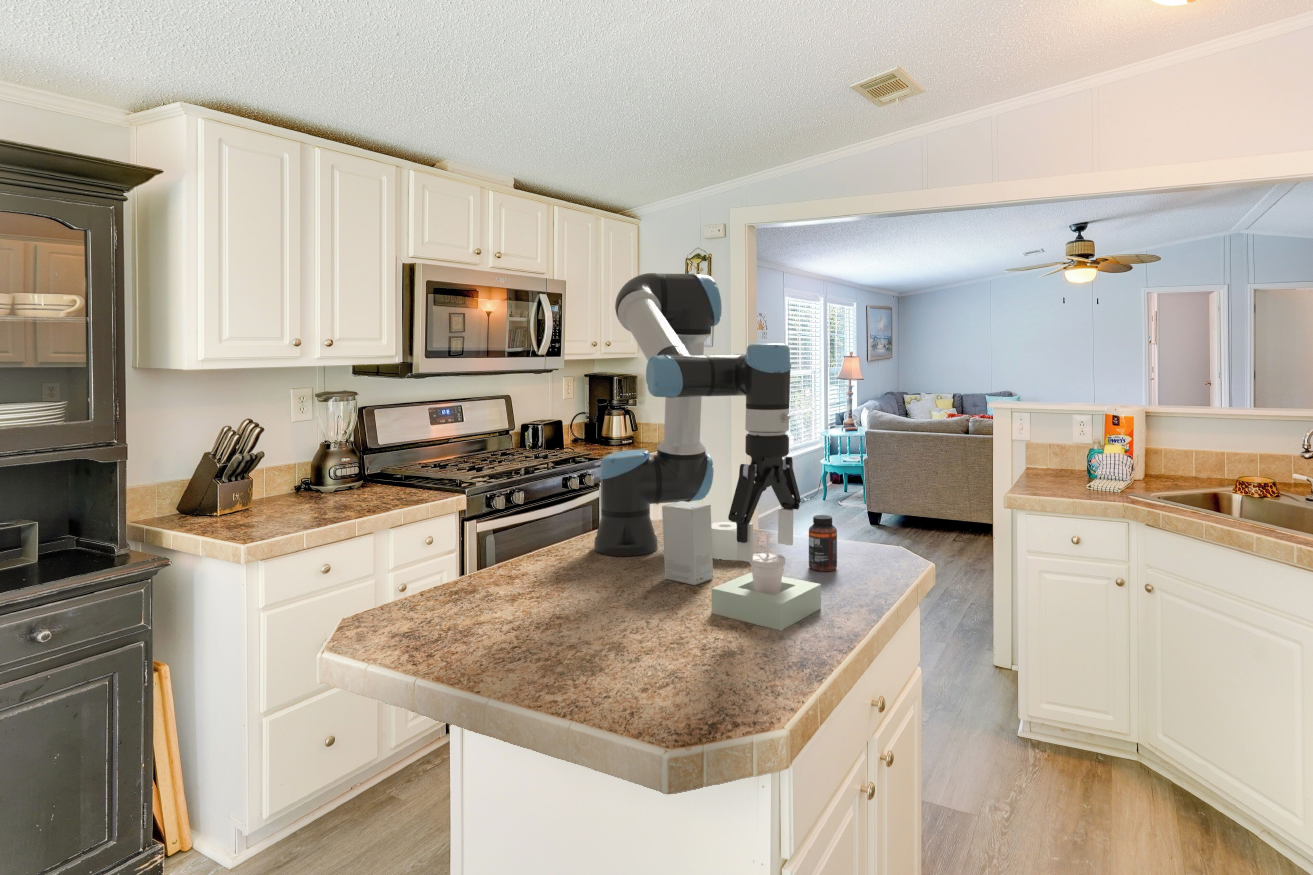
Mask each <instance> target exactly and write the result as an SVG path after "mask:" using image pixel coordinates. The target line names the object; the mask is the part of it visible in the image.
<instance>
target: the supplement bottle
mask: <svg viewBox="0 0 1313 875" xmlns="http://www.w3.org/2000/svg"><path fill="white" fill-rule="evenodd" d="M812 519H813V520H812V522H813V524H812V525H811V526H809V528H808V567H809V569H811V570H812V571H817V572H832V571H834V570H836V569H837V567H838V530H837V527H835V525H834V524H833V516H831V515H828V514H816V515H813V518H812Z"/></svg>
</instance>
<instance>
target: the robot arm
mask: <svg viewBox="0 0 1313 875" xmlns="http://www.w3.org/2000/svg"><path fill="white" fill-rule="evenodd" d="M719 289H720V288H719V287H718V284H717V283H716V281H715V279H714V278H712V276H710V275H707V274H700V273H699V274H698V273H656V272H649V273H642V274H639V275H636V276H634V277H633V278H631V279H630V280H628V281H627V282H626V283H624V285H623V286H622V287H621V289H620V290H619V292H618V293H617V296H616V299H615V305H614V307H615V308H614V309H615V315H616V317H617V319H618V321H619V324H621V326H622V327H623V328H624V329H625V330H627V331H629V332H630V333H631V334H632V336H633V337H634V340H635V341H636V343H637V345H638V346H639V348H640V350H641V352H642V354H643V355H644V357H645V359H646V361H647V363H646V370H645V381H646V384H647V389H648V392H649V394H650V395H651V396H652V397H657V398H665V399H664V400H665V401H664V402H665V403H664V429H663V433H664V434H663V440H662V441H661V442H660V443H659V444H658V445H657V451H656V452H657V453H656V454H654V455H653V454H652V455H651V453H650V451H649V450H647V449H641V448H640V449H628V450H627V449H626V450H621V451H617V452H613V453H609V454H607V455H605V456H604V457H603V458H602V459H601V460H600V471H599V479H600V512H601V513H600V521H599V524H598V527H597V532H596V536H595V537H594V539H593V540H594V545H593V546H594V551H595V552H597V553H599V554H602V555H606V556H615V557H632V556H641V555H647V554H651V553H653V552H655V551H657V549H658V538H657V535H656V533H655V529H654V525H653V522H652V520H651V519H652V518H651V505H652V504H653V505H654V504H656V505H657V504H672V503H676V502H680V501H685V502H694V501H696V502H697V501H701V500H703V499H705V498H706V497H707V495H708V494H709V493H710V490H711V489H712V485H713V480H714V467H713V464H714V462H713V458H712V456H711V455H710V454H709V453H707V452H706V451H707V450H706V446H705V445H704V444H702V442H701V422H702V421H701V420H702V419H701V418H702V417H701V415H702V399H703V398H702V397H731V396H732V397H733V396H734V397H735V396H736V397H738V396H739V397H740V396H743V397H745V424H744V425H745V428H744V429H745V430H746V431H747V432H748V433H746V435H745V444H744V445H745V450H744V451H745V454H746V455H747V456H749V457H750V458H751V459H750V464H746V463H741V464H740V465H739V473H738V479H737V484H736V487H735V491H734V494H733V498H732V502H731V505H730V508H729V509H730V510H729V514H728V517H727V518H728V521H729V522H733V523H736V524H737V559H738V560H737V561H741V560H743V562H748V563H749V562H752V561H753V532H754V523H751V520H752V518H753V515H754V513H755V511H756V509H757V506H758V504H759V501H760V500H761V496H762V494H763V492H765V491H767V488H769V487H771V488H772V491H773V492H774V495H775V496H776V498H777V501H778V503H779V504H780V506H781V507H780V508H777V510H778V513H777V514H778V516H777V544H779V545H785V546H793V545H794V510H799V509H800V504H801V499H802V498H801V495H800V491H799V488H798V483H797V480H796V475H795V471H794V468H793V467H794V466H793V465H794V464H793V457H792V456H789V453H790V436H789V434H787V432H788V431H789V430H790V420H791V416H790V395H791V369H792V364H791V354H790V352H791V351H790V350H791V349H790V347H789V346H788V345H787V344H786V343H750V344H749V345H748V346H747V348H746V354H744V353H741V354H739V353H737V354H736V353H735V354H717V355H715V354H713V355H711V354H709V355H708V354H705V353H704V351H705V341H706V340H707V339H708V338H709V337H710V336H711V335H712V327H716V326H717V325H719V323H720V322H721V317H722V311H723V310H722V298H721V293H720V290H719ZM704 354H705V355H704Z"/></svg>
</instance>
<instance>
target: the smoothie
mask: <svg viewBox="0 0 1313 875" xmlns="http://www.w3.org/2000/svg"><path fill="white" fill-rule="evenodd" d="M765 534H766V535H765V537H766V538H765V539H766V541H765V545H766V546H765V547H766V548H765V550H766V552H763V553H762V552H760V553H756V554H754V555H753V561H752V562H748V563H749V564H750V565H751V572H752V576H753V584H754V591H756V592H761V593H765V594H770V595H776V594H778V593H780V589H781V581H782V576H783V573H784V572H783V571H784V566H785V565H786V557H785V556H783V555H781V554H777V553H772V552H771V553H770V532H766V533H765Z"/></svg>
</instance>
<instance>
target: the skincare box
mask: <svg viewBox="0 0 1313 875" xmlns="http://www.w3.org/2000/svg"><path fill="white" fill-rule="evenodd" d="M711 507H712V505H711V504H707V503H699V502H693V501H690V502H685V501H680V502H672V503H667V504H665V505H662V506H661V513H662V532H663V533H662V534H663V535H662V536H663V557H664V558H663V559H664V579H665V580H670V581H674V582H677V583H683V584H686V585H690V586H691V585H692V586H697V585H700V584H702V583H706V582H708V581H710V580H712V579H713V578H714V565H713V564H714V563H713V558H712V531H711V523H712V508H711Z"/></svg>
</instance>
